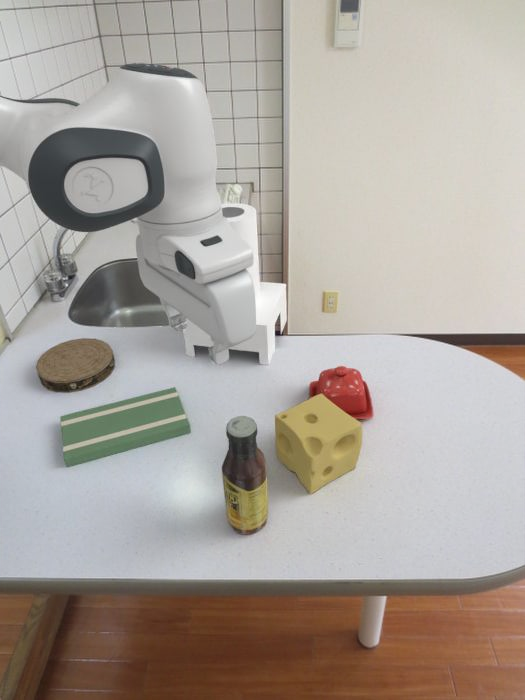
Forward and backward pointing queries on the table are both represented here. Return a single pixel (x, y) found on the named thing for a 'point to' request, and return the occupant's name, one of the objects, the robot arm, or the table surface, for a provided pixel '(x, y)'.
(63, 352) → the wooden log slice
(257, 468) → the sauce bottle
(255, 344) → the paper towel holder
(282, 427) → the cheese
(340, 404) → the butter dish
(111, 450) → the towel
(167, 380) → the table surface
